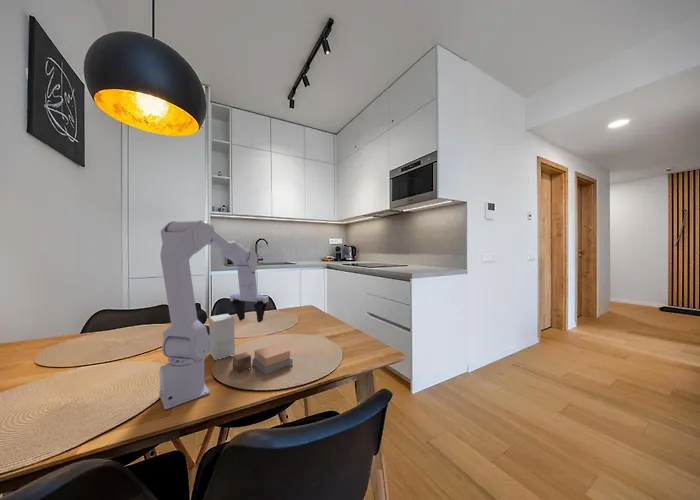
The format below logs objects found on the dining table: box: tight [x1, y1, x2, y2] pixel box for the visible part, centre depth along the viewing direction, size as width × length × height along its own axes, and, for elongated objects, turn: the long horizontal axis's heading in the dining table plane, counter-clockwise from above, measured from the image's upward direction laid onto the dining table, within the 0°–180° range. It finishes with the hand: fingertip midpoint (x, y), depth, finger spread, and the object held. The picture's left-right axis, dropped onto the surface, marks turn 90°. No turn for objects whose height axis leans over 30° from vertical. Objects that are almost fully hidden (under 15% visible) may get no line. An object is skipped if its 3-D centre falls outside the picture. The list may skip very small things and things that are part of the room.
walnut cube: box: [232, 351, 252, 373], centre depth 79 cm, size 4×4×4 cm
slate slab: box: [251, 356, 293, 375], centre depth 81 cm, size 9×9×2 cm
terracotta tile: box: [254, 343, 291, 367], centre depth 81 cm, size 8×8×2 cm
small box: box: [208, 313, 236, 361], centre depth 89 cm, size 8×6×13 cm
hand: (251, 320), depth 93 cm, fingers open, 7 cm apart
